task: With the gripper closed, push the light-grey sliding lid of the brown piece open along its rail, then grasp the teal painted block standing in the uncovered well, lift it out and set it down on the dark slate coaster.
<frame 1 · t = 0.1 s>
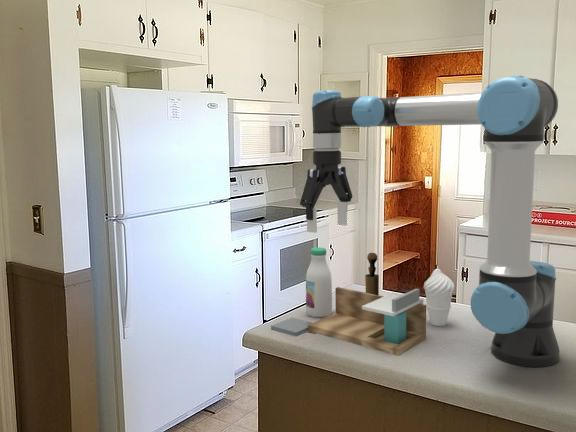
hand: (327, 228, 155), 28 cm above the counter, fingers open, 13 cm apart
lid: (393, 311, 146), point 8 cm above the counter, slide at 0.0 cm
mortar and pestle: (372, 311, 173), on the counter
brown piece: (365, 336, 152), on the counter
coaster: (294, 328, 159), on the counter
milk bottle: (319, 314, 171), on the counter
block: (395, 342, 146), resting on brown piece
soft serve ice cream cone: (437, 325, 160), on the counter
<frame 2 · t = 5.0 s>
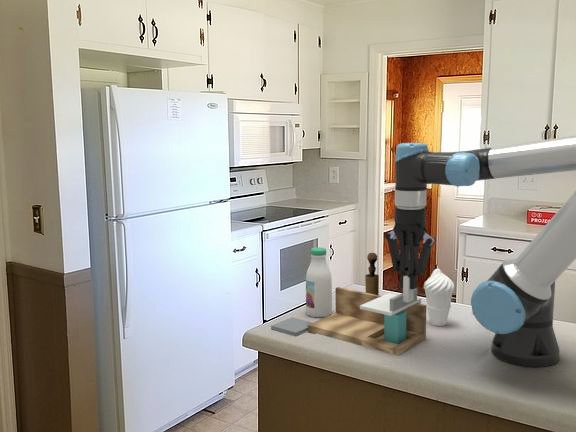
hand: (408, 300, 142), 12 cm above the counter, fingers closed
lid: (391, 311, 146), point 8 cm above the counter, slide at 0.6 cm, touching gripper
everything else where it was.
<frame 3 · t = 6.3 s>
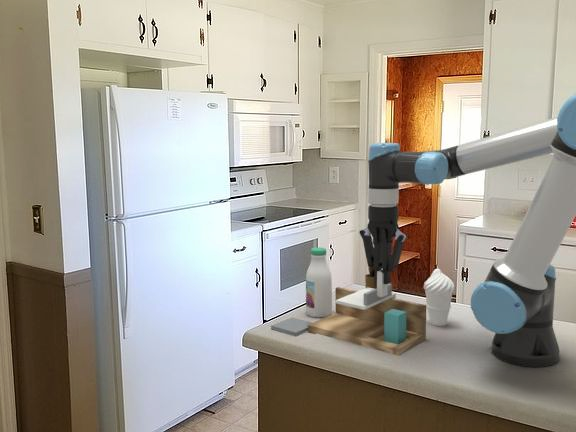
hand: (382, 295, 147), 12 cm above the counter, fingers closed
lid: (366, 305, 151), point 8 cm above the counter, slide at 8.2 cm, touching gripper
everything else where it was.
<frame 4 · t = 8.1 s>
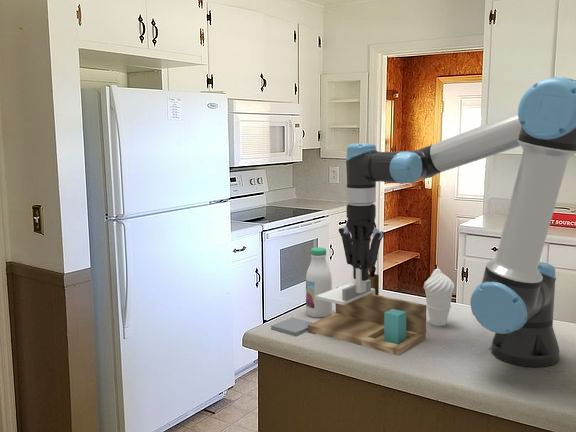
hand: (360, 291, 151), 12 cm above the counter, fingers closed
lid: (346, 301, 156), point 8 cm above the counter, slide at 14.7 cm, touching gripper
everything else where it was.
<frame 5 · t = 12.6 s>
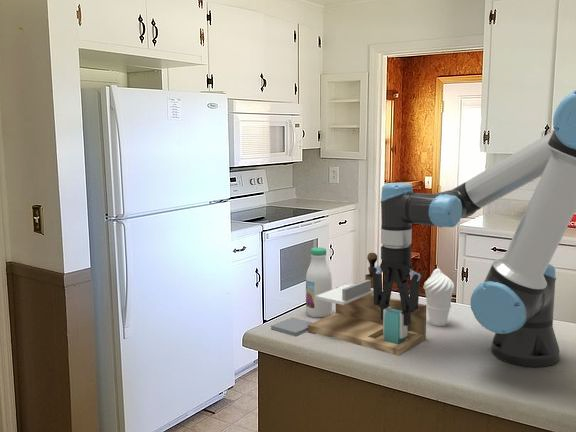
hand: (395, 334, 146), 2 cm above the counter, fingers closed on block, 4 cm apart
lid: (345, 301, 156), point 8 cm above the counter, slide at 14.7 cm
block: (395, 342, 146), resting on brown piece, touching gripper
everything else where it was.
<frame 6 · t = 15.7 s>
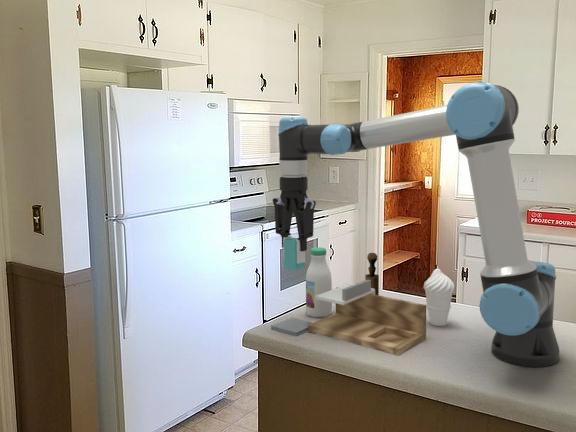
hand: (294, 261, 156), 19 cm above the counter, fingers closed on block, 4 cm apart
block: (294, 268, 156), point 17 cm above the counter, touching gripper
everything else where it was.
when the fingers open (4 cm above the counter, at t = 18.8 s): block stays where it is, resting on coaster.
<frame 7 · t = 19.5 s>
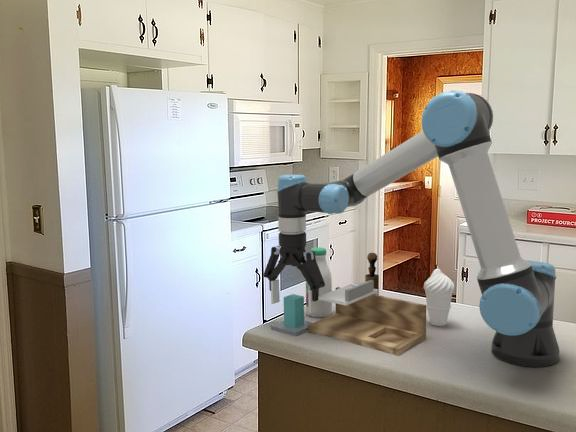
hand: (293, 307, 158), 6 cm above the counter, fingers open, 13 cm apart
lid: (348, 301, 155), point 8 cm above the counter, slide at 13.8 cm, touching gripper
block: (294, 324, 159), point 1 cm above the counter, touching coaster
everything else where it was.
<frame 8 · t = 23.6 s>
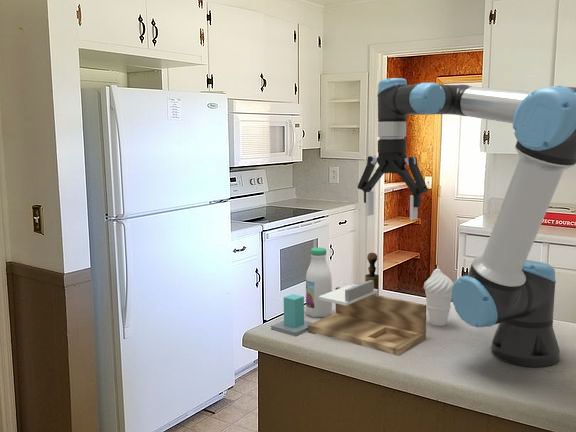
hand: (391, 217, 155), 31 cm above the counter, fingers open, 13 cm apart
lid: (348, 301, 155), point 8 cm above the counter, slide at 13.8 cm
everything else where it was.
at the end: lid slide at 13.8 cm; block inside the target area on the coaster (0.1 cm from its centre), point 1.0 cm above the coaster's base; block tilted 0° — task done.
